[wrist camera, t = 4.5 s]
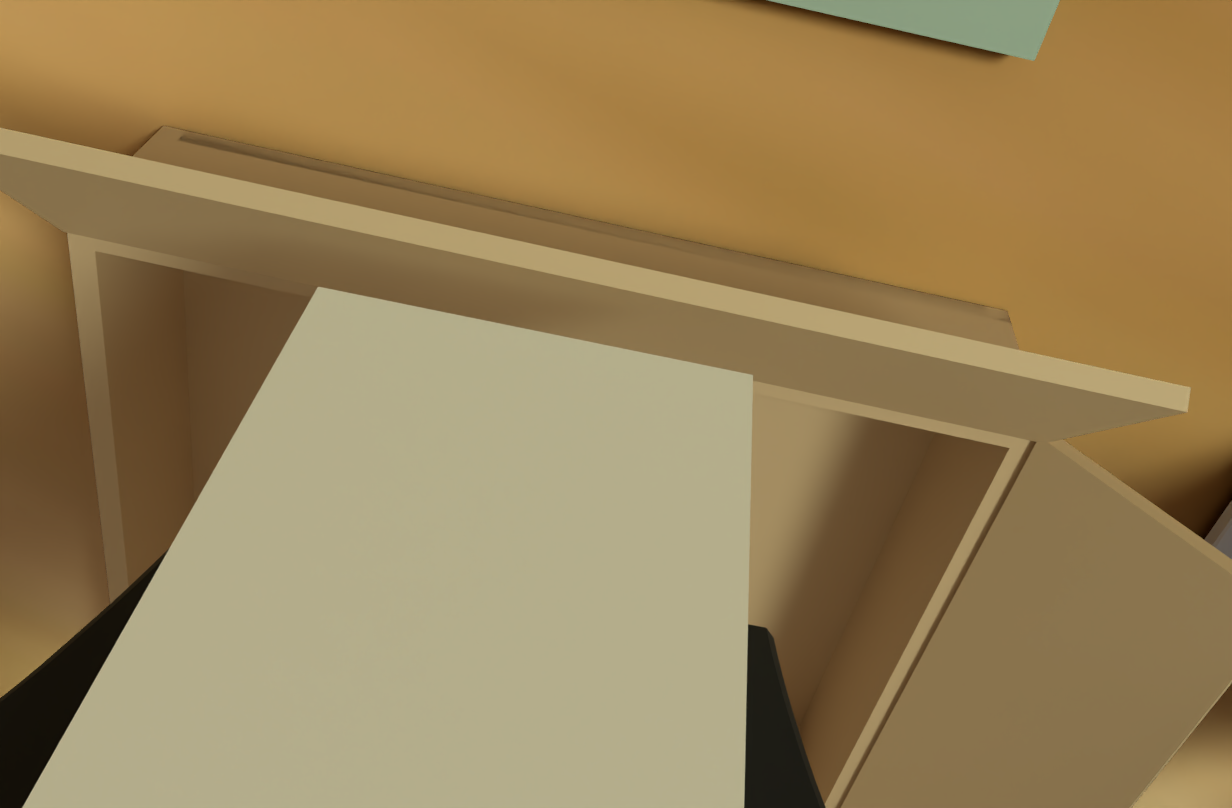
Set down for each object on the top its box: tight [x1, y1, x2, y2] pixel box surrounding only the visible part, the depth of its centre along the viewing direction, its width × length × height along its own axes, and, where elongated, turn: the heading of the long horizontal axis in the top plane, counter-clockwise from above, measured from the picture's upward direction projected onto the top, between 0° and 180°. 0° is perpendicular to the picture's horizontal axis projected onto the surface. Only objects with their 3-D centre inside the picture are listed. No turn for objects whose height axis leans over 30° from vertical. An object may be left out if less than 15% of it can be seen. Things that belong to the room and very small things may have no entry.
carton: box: [0, 126, 1232, 808], centre depth 21 cm, size 18×18×6 cm
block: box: [22, 287, 753, 808], centre depth 11 cm, size 4×6×7 cm
